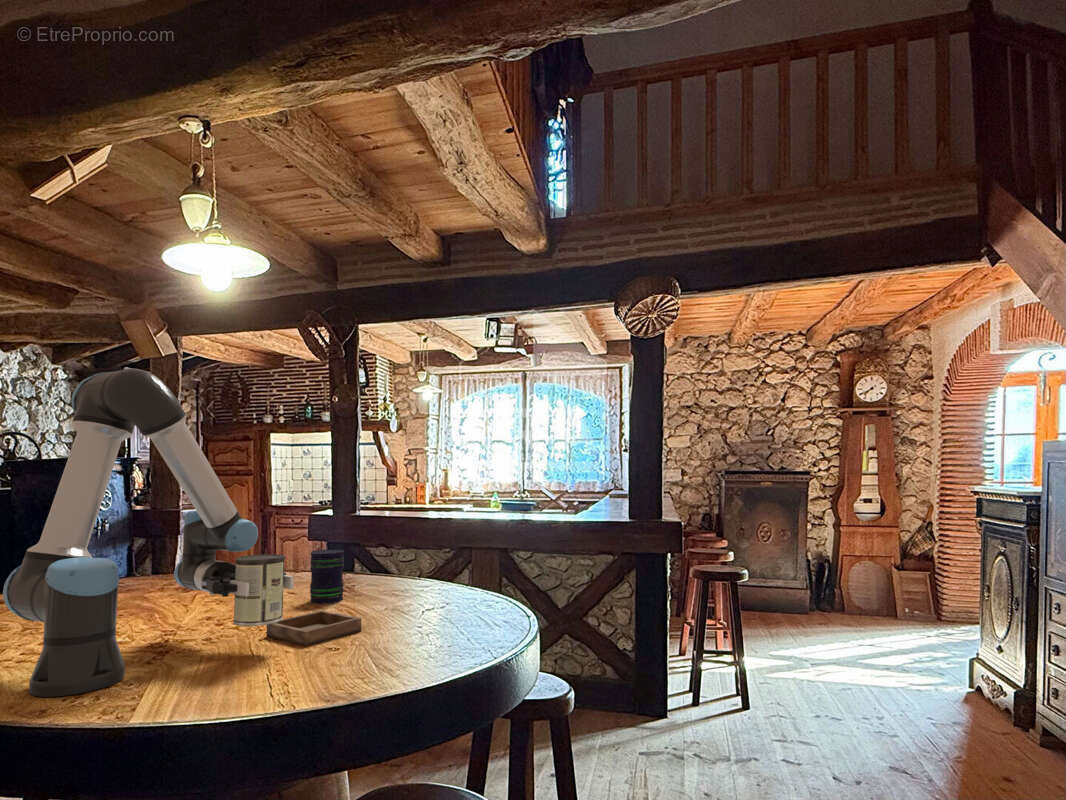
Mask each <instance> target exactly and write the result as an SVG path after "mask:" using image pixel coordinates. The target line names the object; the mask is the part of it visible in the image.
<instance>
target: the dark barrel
mask: <svg viewBox="0 0 1066 800" xmlns="http://www.w3.org/2000/svg"><path fill="white" fill-rule="evenodd" d="M344 562H345V559H344V549H341V548H340V549H339V548H338V549H337V548H334V549H331V548H329V549H319V550H311V551H310V563H309V564H310V568H309V570H310V572H311V579H310V585H309V594H310V600H309V601H310V602H311V603H310V604H312V603H316V604H315V605H326V604H325V603H331V604H335V603H334V602H337V603H339V602H338V601H340V602H342V601H343V600H344V597H343V596H344V589H345V587H344V584H345V583H344V580H343V569H344ZM341 600H342V601H341ZM323 603H324V604H323Z"/></svg>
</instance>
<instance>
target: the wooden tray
mask: <svg viewBox="0 0 1066 800" xmlns="http://www.w3.org/2000/svg"><path fill="white" fill-rule="evenodd" d="M359 632H362V617H357V616H353V615H348V614H343V613H337V612H332V611H327V610H324V609H323V610H319V611H314V612H310V613H306V614H301V615H297V616H291V617H288V618H283V619H282V620H281V621H279V622H277V623H273V624H268V625H266V637H268V638H271V639H275V640H278V641H283V642H286V643H290V644H295V645H298V646H303V647H308V646H312V645H315V644H319V643H324V642H327V641H330V640H333V639H339V638H341V637H344V636H349V635H353V634H356V633H359Z"/></svg>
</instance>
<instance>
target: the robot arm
mask: <svg viewBox="0 0 1066 800" xmlns="http://www.w3.org/2000/svg"><path fill="white" fill-rule="evenodd" d="M70 401H71V408H72V410H73V412H74V415H73V419H72V422H71V425H72V427H73V428H74V429H75V432H76V435H75V438H74V440H73V444H72V446H71V450H70V452H69V454H68V458H67V460H66V461H67V462H66V464H65V467H64V469H63V473H62V475H61V478H60V480H59V484H58V486H57V490H56V493H55V495H54V498H53V501H52V504H51V507H50V510H49V513H48V516H47V518H46V520H45V521H46V522H45V524H44V526H43V530H42V533H41V536H40V539H39V541H38V542H37V543H36V544H35V545H32V546H30V547H29V548H27V550H26V552H25V555H24V557H23V559H22V563H21V565H19V566H18V567H16V568H15V569H13V571H11V572H10V574H9V575H8V577H7V578H6V580H5V582H4V585H3V590H2V597H3V598H2V599H3V601H4V603H5V604H4V605H5V606H6V607H7V609H8V610H9V611H10V612H12V613H13V614H14V615H16V616H18V617H19V618H21V619H24V620H26V621H31V622H40V623H43V624H44V625H43V642H42V648H41V652H40V655H39V657H38V660H37V662H36V664H35V667H34V669H33V671H32V674H31V676H30V678H29V679H30V680H29V684H28V685H29V686H28V689H29V690H28V693H29V695H32V696H35V697H41V698H53V697H54V698H55V697H64V696H72V695H79V694H84V693H88V692H93V691H97V690H100V689H104V688H106V687H110V686H113V685H114V684H117V683H118V682H120V681H122V680H123V679H124V678H125V670H126V669H125V667H126V665H125V662H124V659H123V658H124V657H123V655H122V653H121V649H120V646H119V643H118V640H117V636H116V635H117V634H116V633H117V617H118V616H117V615H118V614H117V613H118V595H119V593H118V592H119V584H120V577H119V568H118V565H117V563H115V561H113V560H111V559H108V558H104V557H103V558H102V557H93V556H92V554H91V553H90V551H88V546H89V543H90V540H91V536H92V534H93V532H94V531H93V530H94V528H95V524H96V521H97V518H98V515H99V513H100V509H101V506H102V504H103V501H104V498H105V494H106V491H107V487H108V485H109V482H110V480H111V477H112V473H113V470H114V467H115V464H116V460H117V457H118V454H119V450H120V449H121V445H122V443H123V441H125V440H127V439H130V438H131V437H132V435H133V432H134V429H135V427H136V428H137V429H138V431H139V433H140V434H141V436H142V437H145V438H150V440H151V442H152V443H153V444H154V446H155V448H156V449H157V450H158V452H159V454H160V456H161V457H162V458H163V460H164V462H165V463H166V465H167V467H168V468H169V470H170V472H171V473H172V474H173V476H174V478H175V479H176V481H177V482H178V484H179V486H180V487H181V489H182V490H183V492H184V494H185V495H186V497H187V498H188V500H189V501H190V503H191V505H192V506H193V508H194V509H195V510H190V511H187V512H186V513H185V515H184V524H183V532H182V533H183V534H182V535H183V536H182V537H183V538H182V539H183V540H182V541H183V542H182V556H181V560H180V561H179V562H178V563H177V565H176V566H175V568H174V570H173V577H174V580H175V582H176V583H177V584H178V585H179V586H180V587H183V588H185V589H187V590H192V591H193V590H195V591H200V592H206V593H208V594H209V595H210V596H212V595H219V596H222V597H228V596H229V595H230V594H232V595H235V594H236V595H241V596H249V583H248V582H242V581H236V580H235V575H236V563H233V562H230V561H229V562H228V561H224V560H217V559H216V556H217V551H225V552H231V553H236V552H239V553H240V552H246V551H248V550H250V549H252V547H253V546H255V545H256V542H257V540H258V538H259V530H258V526H257V525H256V524H255V523H254V522H253V521H251V520H248V519H245V518H243V517H242V516H241V514H240V513H239V511H238V509H237V507H236V506H235V504H234V503H233V501H232V499H231V498H230V495H228V492H227V491H226V489H225V487H224V486H223V483H221V480H220V479H219V477H218V475H217V474H216V472H215V470H214V468H213V467H212V466H211V464H210V462H209V461H208V458H207V457H206V456H205V454H204V452H203V450H202V449H201V447H200V445H199V444H198V441H196V438H195V437H194V434H193V433H192V432H191V430H190V429H189V426H188V424H186V417H187V414H186V412H185V410H184V409H183V406H182V405H181V403H180V402H179V400H178V398H177V397H176V396H175V394H174V393H173V392H172V391H171V390H170V388H169V387H168V386H167V385H166V383H164V382H163V381H162V380H161V379H160V378H159V377H158V376H156V375H154V374H153V373H151V372H149V371H146V370H144V369H139V368H126V369H122V370H117V371H107V372H106V371H103V372H100V373H95V374H93V375H91V376H89V377H87V378H85V379H83V380H82V381H80V382H79V383H78V384H77V385H76V387H75V388H74V390H73V392H72V395H71V400H70ZM294 579H295V577H294V576H292V575H287V572H284V583H283V589H286V590H287V589H288V590H292V589H294V583H295V582H294Z"/></svg>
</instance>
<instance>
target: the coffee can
mask: <svg viewBox="0 0 1066 800" xmlns="http://www.w3.org/2000/svg"><path fill="white" fill-rule="evenodd" d="M285 559H286V556H285V554H278V553H277V554H276V553H275V554H272V553H269V554H268V553H267V554H265V553H263V554H252V555H251V554H250V555H243V556H239V557H236V558H235V561H234V562H235V565H236V575H235V580H236V581H242V582H248V583H249V596H241V595H236V594H234V600H233V601H234V603H233V604H234V605H233V610H234V611H233V622H232V624H233V626H239V627H259V626H260V627H261V626H267V625H268V624H273V623H277V622H279V621H281V620H282V619H284V618H283V616H284V615H283V610H284V605H283V604H284V588H283V583H284V573H285Z"/></svg>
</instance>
